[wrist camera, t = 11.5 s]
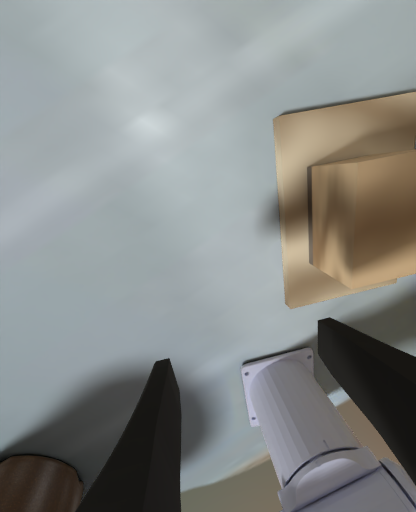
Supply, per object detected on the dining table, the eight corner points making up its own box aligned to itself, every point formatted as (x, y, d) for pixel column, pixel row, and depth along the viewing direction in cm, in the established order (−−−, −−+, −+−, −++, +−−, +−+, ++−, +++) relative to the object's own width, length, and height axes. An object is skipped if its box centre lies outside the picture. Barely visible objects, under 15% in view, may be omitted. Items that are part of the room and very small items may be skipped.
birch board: (387, 278, 23) (396, 282, 22) (285, 303, 22) (290, 309, 21) (408, 95, 17) (421, 90, 16) (273, 119, 16) (279, 115, 15)
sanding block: (361, 250, 20) (418, 272, 15) (309, 263, 20) (351, 289, 15) (367, 155, 17) (439, 146, 13) (307, 166, 17) (358, 162, 12)
